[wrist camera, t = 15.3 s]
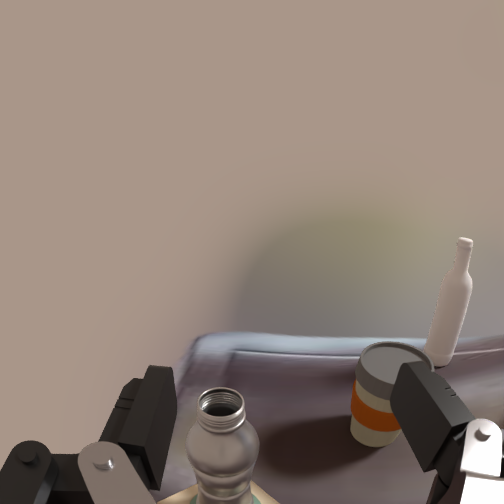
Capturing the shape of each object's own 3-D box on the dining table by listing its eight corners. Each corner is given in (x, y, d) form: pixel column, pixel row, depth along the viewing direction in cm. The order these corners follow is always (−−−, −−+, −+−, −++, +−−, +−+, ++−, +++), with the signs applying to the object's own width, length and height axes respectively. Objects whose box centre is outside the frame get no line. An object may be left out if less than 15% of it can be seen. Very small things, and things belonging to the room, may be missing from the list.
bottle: (416, 353, 68) (443, 234, 60) (437, 347, 69) (464, 235, 61) (434, 370, 60) (468, 243, 52) (455, 362, 62) (488, 243, 54)
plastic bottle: (188, 524, 25) (160, 415, 20) (212, 486, 31) (202, 368, 26) (241, 542, 23) (245, 444, 18) (261, 501, 29) (274, 386, 24)
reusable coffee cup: (333, 410, 51) (348, 343, 47) (393, 402, 52) (414, 337, 48) (350, 460, 39) (375, 392, 35) (417, 446, 40) (449, 379, 36)
